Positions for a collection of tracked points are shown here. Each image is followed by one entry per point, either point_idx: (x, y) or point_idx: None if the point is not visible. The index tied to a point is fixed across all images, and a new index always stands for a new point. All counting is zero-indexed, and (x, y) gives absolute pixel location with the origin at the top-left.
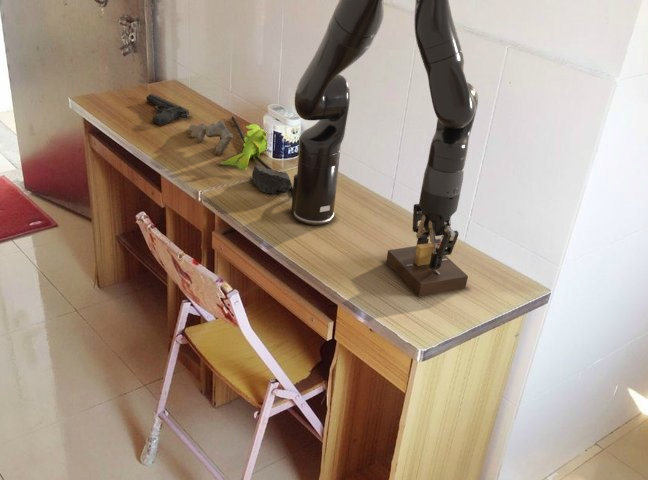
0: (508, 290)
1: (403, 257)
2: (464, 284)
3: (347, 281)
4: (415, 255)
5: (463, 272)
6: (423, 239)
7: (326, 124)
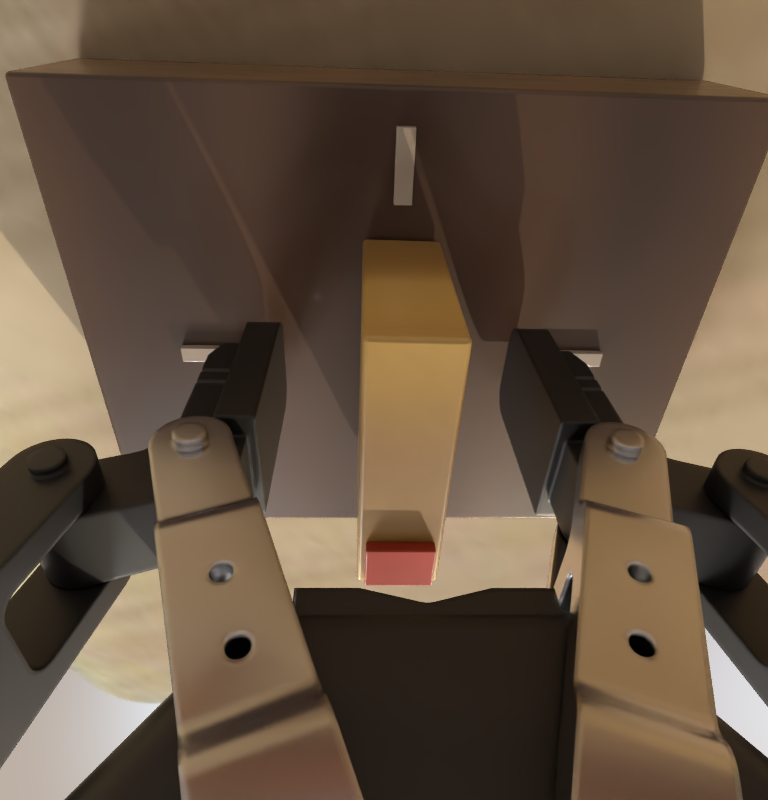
0: (129, 605)
1: (569, 189)
2: None
3: None
4: (440, 273)
5: None
6: (560, 470)
7: None
